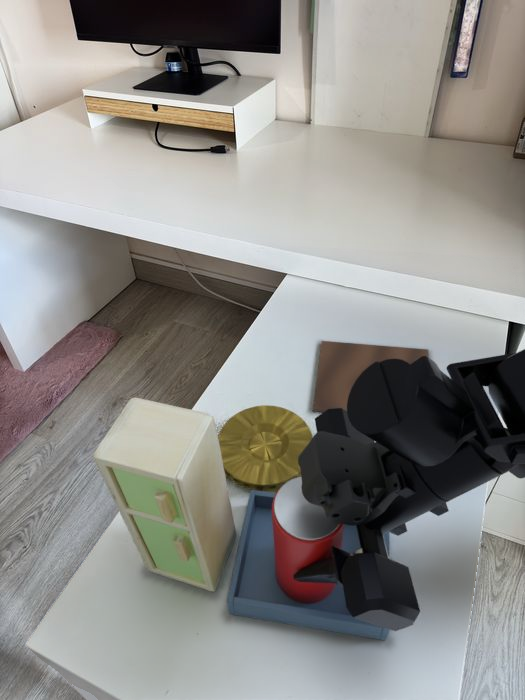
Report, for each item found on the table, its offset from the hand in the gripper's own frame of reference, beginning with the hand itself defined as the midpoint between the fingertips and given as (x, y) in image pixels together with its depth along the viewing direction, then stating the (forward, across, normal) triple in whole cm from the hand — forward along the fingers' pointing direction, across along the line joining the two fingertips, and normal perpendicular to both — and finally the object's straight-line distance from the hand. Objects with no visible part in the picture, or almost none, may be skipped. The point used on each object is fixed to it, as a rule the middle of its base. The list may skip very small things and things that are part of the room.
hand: (292, 542), depth 48 cm
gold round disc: (+7, -16, +4) cm, 17 cm away
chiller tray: (+4, -1, +6) cm, 7 cm away
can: (+4, 0, +6) cm, 7 cm away
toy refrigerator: (+13, -3, -2) cm, 13 cm away
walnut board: (-5, -27, +15) cm, 31 cm away
